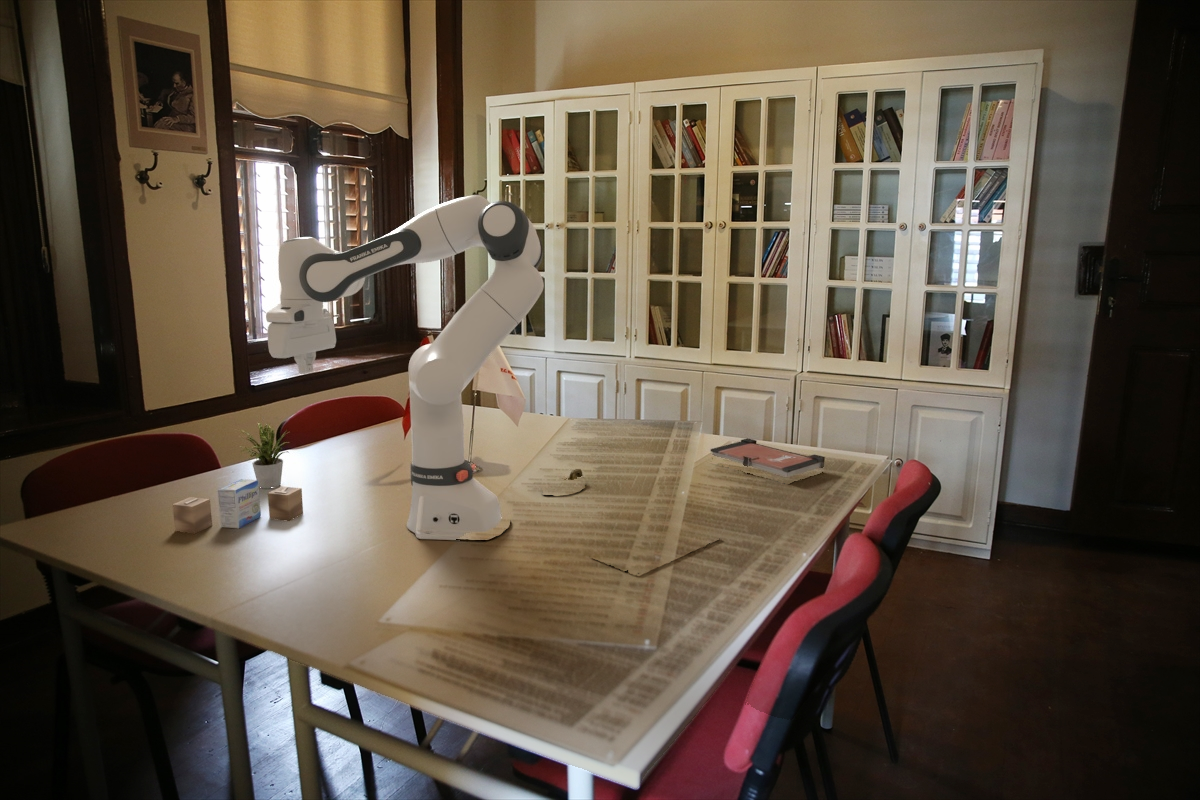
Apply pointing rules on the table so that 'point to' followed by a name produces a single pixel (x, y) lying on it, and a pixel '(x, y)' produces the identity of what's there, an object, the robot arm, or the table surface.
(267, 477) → the house plant
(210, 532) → the table surface
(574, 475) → the seal
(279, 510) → the walnut block seven
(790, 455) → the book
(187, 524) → the walnut block one
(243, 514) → the medicine box
